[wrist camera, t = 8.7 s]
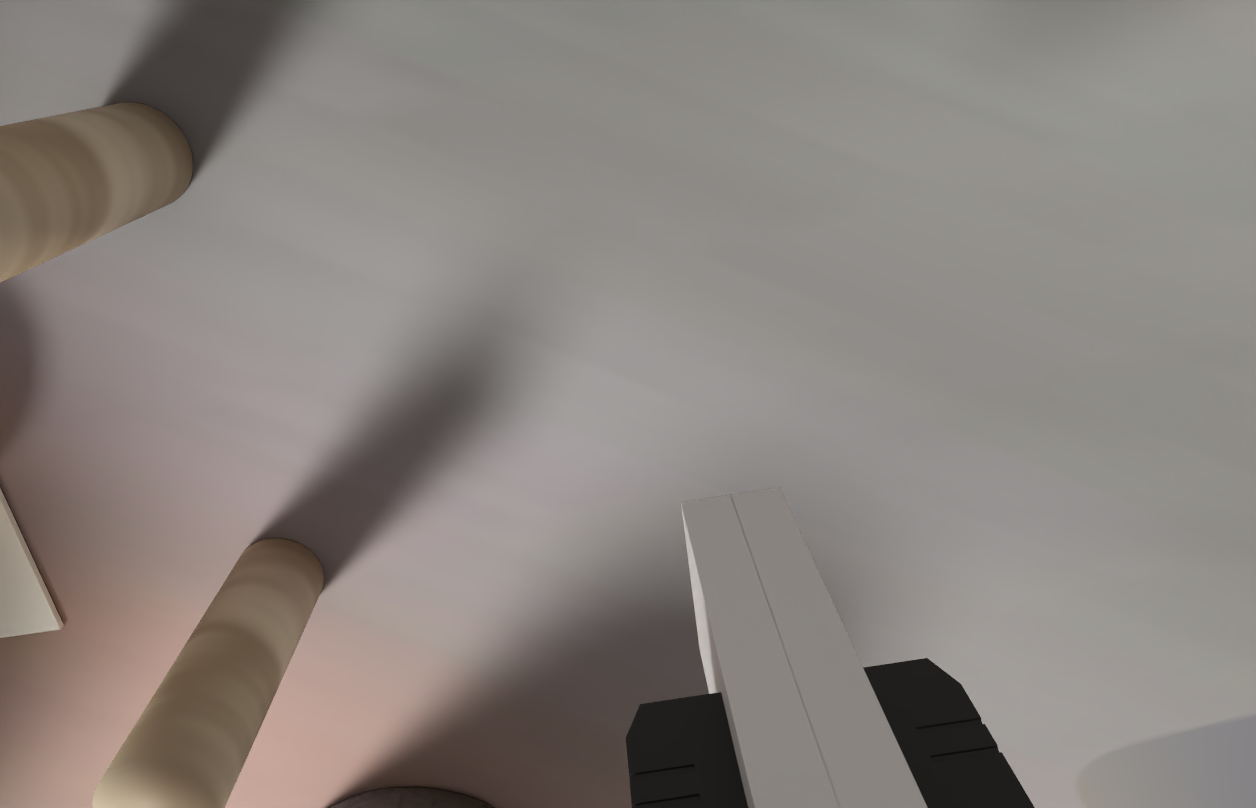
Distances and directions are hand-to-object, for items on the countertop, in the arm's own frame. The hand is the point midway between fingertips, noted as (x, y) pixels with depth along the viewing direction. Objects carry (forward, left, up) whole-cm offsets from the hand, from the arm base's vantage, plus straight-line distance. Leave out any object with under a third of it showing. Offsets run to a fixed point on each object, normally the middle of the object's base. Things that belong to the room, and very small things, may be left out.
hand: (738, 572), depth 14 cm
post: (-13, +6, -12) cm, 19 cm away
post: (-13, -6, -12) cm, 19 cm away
